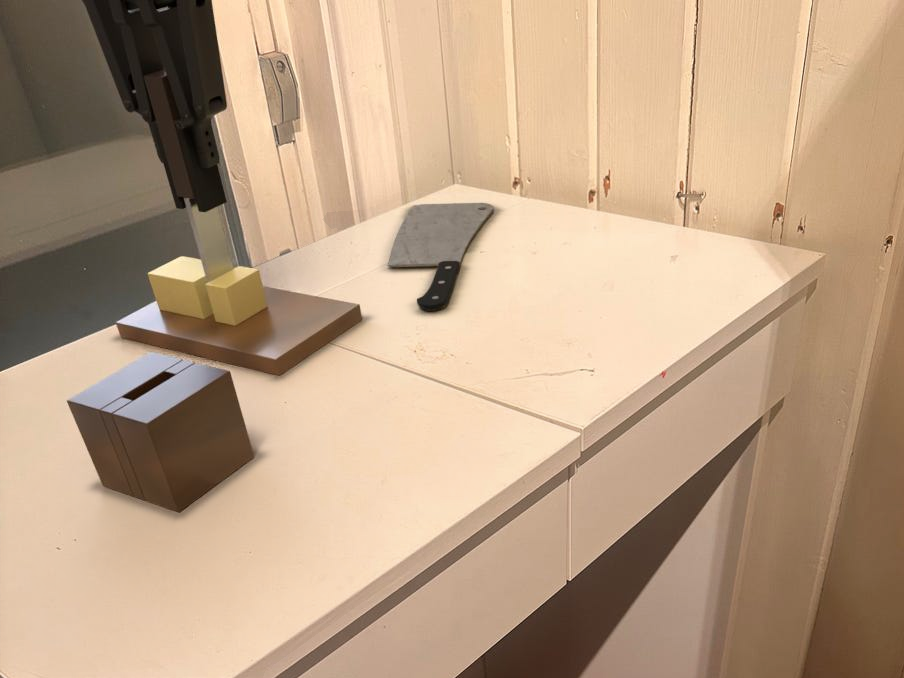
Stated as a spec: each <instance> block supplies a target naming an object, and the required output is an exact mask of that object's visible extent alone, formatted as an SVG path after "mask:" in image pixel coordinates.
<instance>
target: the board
mask: <svg viewBox="0 0 904 678" xmlns="http://www.w3.org/2000/svg"><path fill="white" fill-rule="evenodd" d="M263 289H264V293H265V297H266V301H267V306H268V307H266V308H265V309H263V310H261V311H260V312H258V313H256V314H255V315H253V316H251V317H250V318H248V319H246V320H245V321H243V322H241V323H240V324H238V325H236V326H233V325H229V324H224V323H220V322H216V321H215V317H214V314H213V315H211V316H209V317H207V318H206V319H201V318H196V317H191V316H187V315H182V314H178V313H173V312H168V311H164V310H159V307H158V304H157V301H156V300H155V301H153V302H150V303H149V304H147V305H145V306H144V307H142V308H140V309H138V310H135V311H134V312H132V313H130V314H129V315H127V316H125V317H123V318H121V319H119V320H117V321H115V325H116V327H117V330H118V333H119V336H120V338H122V339H126V340H131V341H134V342H138V343H143V344H146V345H151V346H155V347H160V348H162V349H163V348H164V349H168V350H172V351H175V352H176V351H177V352H179V353H183V354H187V355H193V356H197V357H200V358H205V359H209V360H213V361H218V362H221V363H226V364H229V365H234V366H238V367H242V368H246V369H250V370H253V371H258V372H263V373H267V374H271V375H276V376H281V375H283V374H285V373H286V372H287V371H289V370H290V369H291V368H293V367H295V366H296V365H298V364H299V363H300V362H302V361H303V360H305V359H307V358H308V357H309V356H310V355H312V354H314V353H315V352H317V351H318V350H320V349H322V348H323V347H324V346H325V345H327V344H329V343H330V342H332V341H333V340H334V339H336V338H337V337H339V336H340V335H342V334H344V333H345V332H347V330H350V329H351V328H352V327H353V326H355V325H357V324H358V323H359V322H361V321H362V320H363V316H362V309H361V304H359V303H355V302H349V301H344V300H338V299H333V298H328V297H323V296H318V295H311V294H306V293H302V292H298V291H297V292H296V291H291V290H285V289H281V288H275V287H269V286H264V285H263Z"/></svg>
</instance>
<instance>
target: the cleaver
mask: <svg viewBox="0 0 904 678" xmlns="http://www.w3.org/2000/svg"><path fill="white" fill-rule="evenodd" d="M494 210H495V207H494V205H492V204H491V203H488V202H459V203H458V202H455V203H454V202H453V203H420V204H413V205H412V206H411V208H410V210H408V213H407V214H406V216H405V217H404V218H403V221H402V223H401V225H400V226H399V229H398V231H397V233H396V235H395V239H394V241H393V244H392V248H391V251H390V254H389V258H388V261H387V265H386V266H387V267H393V268H401V267H403V268H404V267H407V268H408V267H437V268H436V271H435V274H434V277H433V280H432V282H431V284H430V286H429V288H428V290H427V291H426V292H425V293H424V295H422V296H420V297H418V298H417V299H416V304H417V305H418V306H419V308H420V309H422V310H424V311H437V310H439V309H442V308H444V307H446V305H447V304H448V302H449V300H450V297H451V294H452V292H453V288H454V285H455V282H456V279H457V276H458V273H459V270H460V268H461V262H462V260H463V258H464V255H465V252H466V250H467V249H468V247H469V245H470V243H471V241H472V240H473V238H474V237H475V236H476V234H477V232H478V230H480V228H481V227H482V225H483V224H484V223H485V222H486V220H487V219H488V218H489V216H490V215H491V214H492V213H493V212H494Z"/></svg>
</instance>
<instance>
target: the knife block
mask: <svg viewBox="0 0 904 678" xmlns="http://www.w3.org/2000/svg"><path fill="white" fill-rule="evenodd" d="M66 403H67V405H68V407H69V410H70V412H71V414H72V417H73V420H74V422H75V424H76V426H77V429H78V431H79V433H80V437H81V438H82V441H83V442H84V445H85V448H86V450H87V452H88V454H89V457H90V460H91V462H92V464H93V467H94V468H95V471H96V473H97V477H98V478H99V480H100V484H101V485H102V486H103V487H106V488H108V489H111V490H113V491H116V492H120V493H122V494H125V495H128V496H131V497H134V498H137V499H139V500H142V501H146V502H148V503H151V504H154V505H157V506H159V507H163V508H165V509H169V510H171V511H174V512H177V513H181V511H183V510H184V509H186V508H187V507H188V506H189V505H191V504H192V503H194V502H195V501H196V500H198V499H199V498H201V497H202V496H203V495H205V494H206V493H207V492H209V491H210V490H211V489H213V488H214V487H216V486H217V485H218V484H219V483H221V482H222V481H224V480H225V479H226V478H228V477H229V476H230V475H232V474H233V473H234V472H236V471H237V470H238V469H240V468H241V467H243V466H244V465H245V464H246V463H248V462H249V461H251V460H252V459H254V458H255V454H254V450H253V446H252V443H251V440H250V436H249V432H248V429H247V425H246V422H245V418H244V414H243V412H242V408H241V403H240V401H239V397H238V394H237V391H236V387H235V385H234V380H233V376H232V373H231V371H230V370H228V369H227V370H226V369H224V368H219V367H215V366H211V365H206V364H204V363H203V364H202V363H199V362H195V361H190V360H187V359H183V358H179V357H174V356H171V355H167V354H163V353H159V352H154V351H150V352H148V353H147V354H145V355H143V356H141V357H139V358H138V359H136V360H134V361H133V362H131V363H129V364H128V365H126V366H124V367H122V368H121V369H118V370H117V371H115V372H114V373H112V374H110V375H108V376H107V377H105V378H103V379H101V380H100V381H98V382H96V383H94V384H92V385H91V386H89V387H88V388H86V389H83V390H82V391H80V392H79V393H77V394H75V395H74V396H72V397H70V398H69V399H67V400H66Z"/></svg>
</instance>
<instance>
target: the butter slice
mask: <svg viewBox="0 0 904 678" xmlns="http://www.w3.org/2000/svg"><path fill="white" fill-rule="evenodd" d="M205 285H206V289H207V292H208V296H209V299H210V303H211V306H212V310H213V314H214V317H215V321H216V322H220V323H224V324H229V325H233V326H236V325H238V324H240V323H241V322H243V321H245V320H246V319H248V318H250V317H251V316H253V315H255V314H256V313H258V312H260V311H261V310H263V309H265V308H266V307H268V306H267V301H266V297H265V293H264V289H263V286H264V285H263V282H262V276H261V273H260V269H259V268H258V269H257V268H252V267H248V266H247V267H246V266H242V265H241V266H240V265H238V266H236V267H233V269H232V270H231V271H229V272H227V273H225V274H223V275H221V276H220V277H218V278H216V279H214V280H212V281H210V282H209V283H207V284H205Z"/></svg>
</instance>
